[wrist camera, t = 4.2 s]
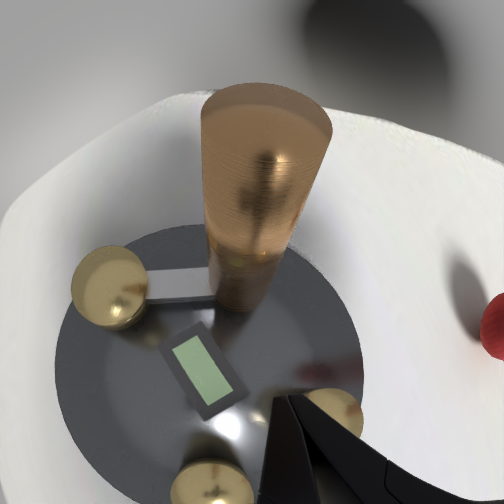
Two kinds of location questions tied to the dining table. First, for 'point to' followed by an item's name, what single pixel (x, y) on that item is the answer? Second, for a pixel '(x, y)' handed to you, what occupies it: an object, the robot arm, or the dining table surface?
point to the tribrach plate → (152, 398)
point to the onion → (493, 328)
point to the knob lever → (224, 209)
